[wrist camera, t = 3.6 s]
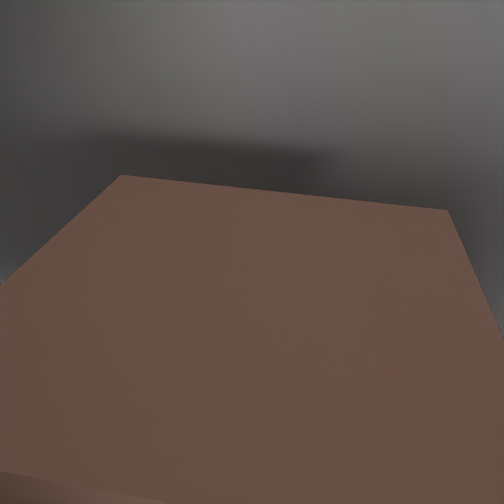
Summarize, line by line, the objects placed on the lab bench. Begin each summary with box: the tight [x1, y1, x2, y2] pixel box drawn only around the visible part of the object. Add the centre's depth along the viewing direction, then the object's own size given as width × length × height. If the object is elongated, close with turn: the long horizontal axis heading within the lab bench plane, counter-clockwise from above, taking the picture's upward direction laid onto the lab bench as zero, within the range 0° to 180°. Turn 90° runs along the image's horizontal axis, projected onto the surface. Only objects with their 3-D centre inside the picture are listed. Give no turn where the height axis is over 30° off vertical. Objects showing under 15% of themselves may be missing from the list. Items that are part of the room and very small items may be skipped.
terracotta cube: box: [0, 175, 504, 504], centre depth 6 cm, size 5×5×5 cm
